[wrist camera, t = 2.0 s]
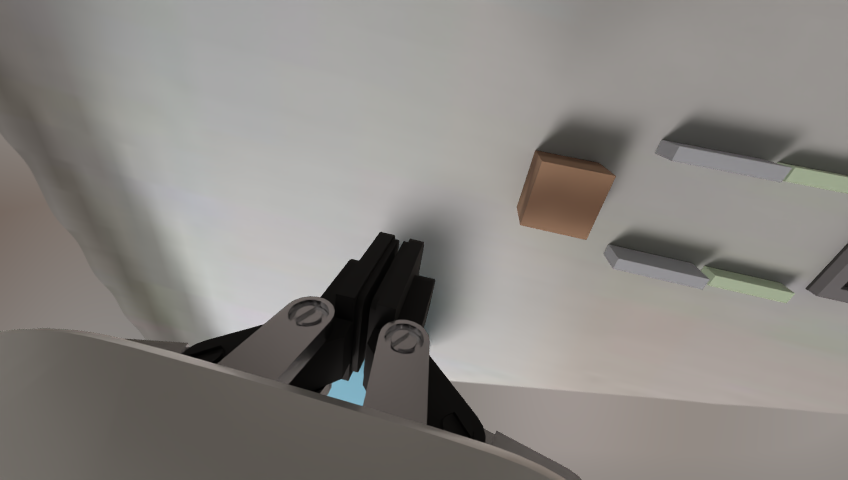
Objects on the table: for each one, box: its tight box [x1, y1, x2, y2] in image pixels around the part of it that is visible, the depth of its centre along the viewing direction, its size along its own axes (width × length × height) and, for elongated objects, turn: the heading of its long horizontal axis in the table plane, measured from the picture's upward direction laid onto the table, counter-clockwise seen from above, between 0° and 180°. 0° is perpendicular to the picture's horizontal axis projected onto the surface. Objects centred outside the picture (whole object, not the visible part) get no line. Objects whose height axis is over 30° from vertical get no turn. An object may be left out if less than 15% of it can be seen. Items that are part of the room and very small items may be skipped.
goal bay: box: [701, 162, 848, 303], centre depth 24 cm, size 10×6×2 cm, turn 171°
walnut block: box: [517, 150, 616, 240], centre depth 25 cm, size 5×5×4 cm
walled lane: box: [604, 140, 792, 290], centre depth 24 cm, size 10×7×2 cm
